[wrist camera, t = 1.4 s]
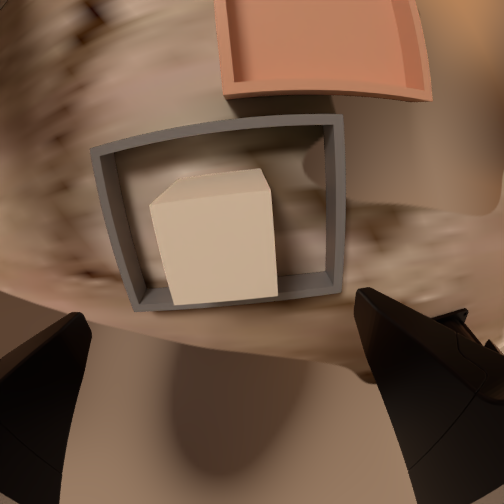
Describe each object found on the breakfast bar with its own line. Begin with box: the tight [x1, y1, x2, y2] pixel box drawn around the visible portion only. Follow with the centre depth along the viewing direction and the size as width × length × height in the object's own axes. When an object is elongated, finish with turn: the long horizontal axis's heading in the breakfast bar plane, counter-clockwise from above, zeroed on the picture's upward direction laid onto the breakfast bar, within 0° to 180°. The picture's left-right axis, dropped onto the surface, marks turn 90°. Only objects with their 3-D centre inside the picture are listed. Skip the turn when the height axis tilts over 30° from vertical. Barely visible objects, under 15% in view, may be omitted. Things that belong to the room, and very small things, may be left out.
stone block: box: [149, 169, 278, 305], centre depth 15 cm, size 5×5×6 cm
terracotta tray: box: [214, 0, 433, 102], centre depth 11 cm, size 12×12×2 cm
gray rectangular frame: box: [90, 114, 346, 312], centre depth 16 cm, size 14×11×2 cm
